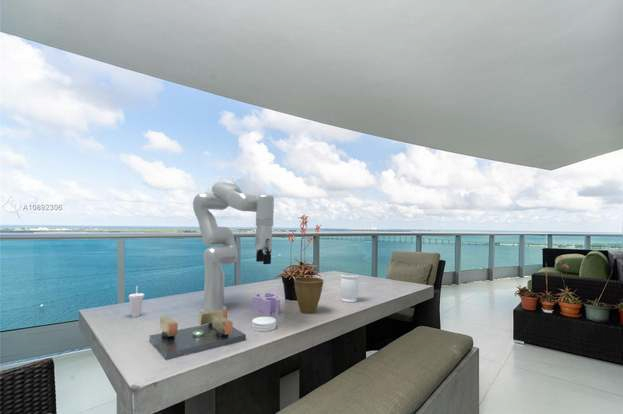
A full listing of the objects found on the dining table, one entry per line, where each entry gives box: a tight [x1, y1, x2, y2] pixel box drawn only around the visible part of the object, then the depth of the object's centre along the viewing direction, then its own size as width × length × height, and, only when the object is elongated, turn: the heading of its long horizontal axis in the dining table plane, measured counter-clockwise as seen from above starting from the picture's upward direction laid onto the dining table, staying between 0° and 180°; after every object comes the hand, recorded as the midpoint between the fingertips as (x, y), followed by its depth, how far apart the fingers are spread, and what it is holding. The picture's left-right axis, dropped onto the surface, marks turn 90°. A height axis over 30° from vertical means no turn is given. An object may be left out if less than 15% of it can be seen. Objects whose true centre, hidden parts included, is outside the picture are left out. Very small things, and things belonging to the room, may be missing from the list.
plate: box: [149, 324, 247, 360], centre depth 115 cm, size 20×28×3 cm
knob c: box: [212, 315, 234, 336], centre depth 116 cm, size 11×4×5 cm, turn 41°
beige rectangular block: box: [197, 309, 229, 327], centre depth 126 cm, size 11×4×5 cm, turn 131°
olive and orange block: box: [159, 315, 179, 338], centre depth 113 cm, size 11×4×5 cm, turn 41°
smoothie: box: [128, 285, 145, 318], centre depth 143 cm, size 6×6×14 cm
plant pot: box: [293, 276, 324, 314], centre depth 158 cm, size 15×15×16 cm
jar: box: [340, 273, 360, 303], centre depth 182 cm, size 11×10×15 cm
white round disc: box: [251, 316, 277, 333], centre depth 131 cm, size 10×10×4 cm
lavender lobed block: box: [252, 291, 281, 316], centre depth 159 cm, size 20×12×7 cm, turn 27°
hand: (263, 262), depth 135 cm, fingers open, 9 cm apart
